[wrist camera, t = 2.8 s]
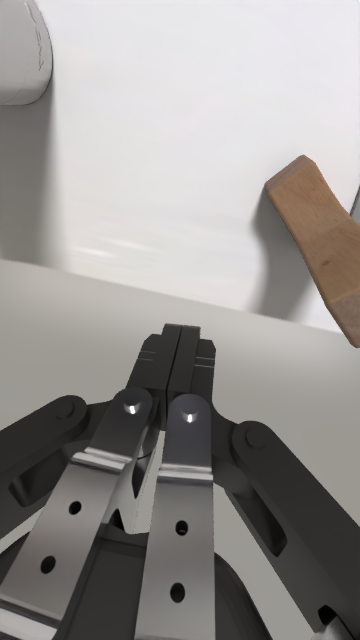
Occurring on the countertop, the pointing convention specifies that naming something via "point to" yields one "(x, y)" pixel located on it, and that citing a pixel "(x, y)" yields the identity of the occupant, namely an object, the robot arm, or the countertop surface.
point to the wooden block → (322, 239)
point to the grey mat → (356, 209)
